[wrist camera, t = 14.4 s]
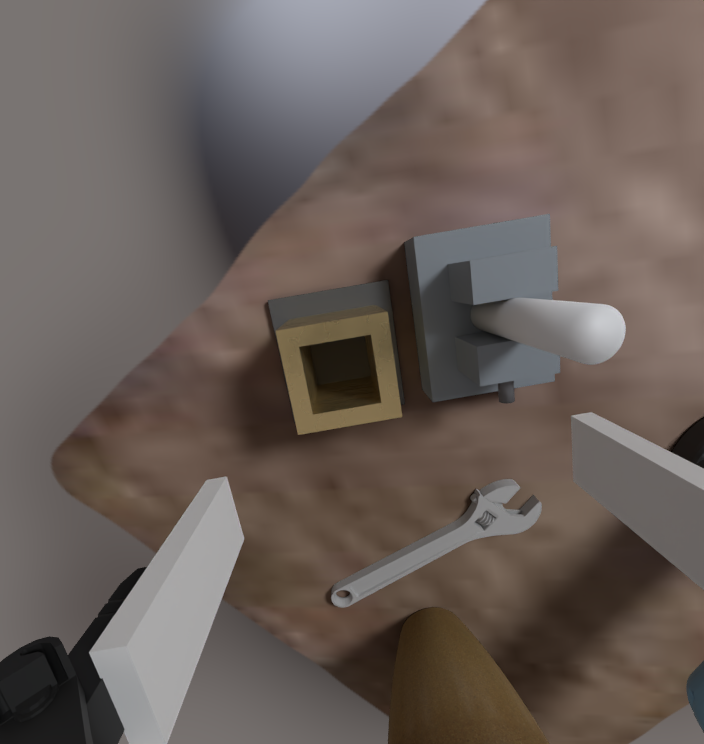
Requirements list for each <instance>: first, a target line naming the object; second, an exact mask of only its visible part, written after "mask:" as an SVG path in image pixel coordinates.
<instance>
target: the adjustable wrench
mask: <svg viewBox="0 0 704 744" xmlns="http://www.w3.org/2000/svg"><path fill="white" fill-rule="evenodd" d="M519 489H520V487H519V485H518V484H517V483H516V482H515V481H514V480H512V479H504V480H499V481H496V482H493V483H491V484H489V485H487V486H485V487H483V488H482V489H480V490H478V489H475V491H474V494H472V495H471V497H470V499H471V500H472V503H471V505H470V506H469V508H468V510H467V511H466V512H465V514H464V515H463V516H461V517H460V518H459V519H457V520H456V521H454V522H453V523H451V524H449V525H447V526H445V527H443V528H441V529H439V530H437V531H435V532H433V533H431V534H429V535H428V536H426V537H424V538H422V539H420V540H418V541H416V542H414V543H412V544H410V545H408V546H406V547H405V548H403V549H401V550H399V551H397V552H395V553H393V554H391V555H389V556H387V557H385V558H383V559H381V560H380V561H378V562H376V563H374V564H372V565H370V566H368V567H366V568H364V569H362V570H360V571H358V572H357V573H355V574H353V575H351V576H349V577H347V578H345V579H343V580H341V581H339V582H337V583H336V584H335V585H334V586H333V587H332V590H331V599H332V602H333V604H334V605H336V606H338V607H347V606H350V605H352V604H354V603H355V602H357V601H359V600H361V599H363V598H365V597H367V596H368V595H370V594H372V593H374V592H376V591H378V590H379V589H381V588H383V587H385V586H387V585H389V584H391V583H392V582H394V581H396V580H398V579H400V578H402V577H404V576H405V575H407V574H409V573H411V572H413V571H415V570H417V569H418V568H420V567H422V566H424V565H426V564H428V563H430V562H431V561H433V560H435V559H437V558H439V557H441V556H443V555H444V554H446V553H448V552H450V551H452V550H454V549H456V548H457V547H459V546H461V545H463V544H465V543H467V542H469V541H471V540H474V539H478V538H483V537H488V536H495V535H507V534H517V533H520V532H523V531H525V530H527V529H528V528H530V527H531V526H532V525H533V524H534V523H535V522H536V521H537V519H538V517H539V515H540V513H541V508H542V504H541V502H540V501H539V500H538V499H537V498H536V497H535V496H534V495H533V496H532V497H531V498H530V499H529V500H528V501H527V502H526V503H525V504H524V505H523V506H522V507H521V509H520V510H511V509H505V508H504V507H503V506H502V503H507V502H508V501H509V500H510V499H511V497H512V496H513V495H514V494H515V493H516V492H517V491H518V490H519ZM476 521H477V522H476ZM340 590H347V591H349V592H350V594H349V595H348V596H347V597H338V596H337V595H336V592H337V591H340Z"/></svg>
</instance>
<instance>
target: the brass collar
mask: <svg viewBox="0 0 704 744" xmlns="http://www.w3.org/2000/svg"><path fill="white" fill-rule="evenodd" d="M276 336H277V341H278V345H279V350H280V354H281V359H282V364H283V368H284V373H285V377H286V382H287V386H288V391H289V396H290V400H291V405H292V409H293V414H294V419H295V423H296V428H297V432H298V435H301V434H307V433H313V432H319V431H324V430H330V429H336V428H342V427H347V426H353V425H359V424H365V423H370V422H376V421H382V420H388V419H394V418H399V417H402V411H401V404H400V397H399V389H398V382H397V375H396V368H395V361H394V354H393V347H392V339H391V332H390V325H389V318H388V312H387V311H386V310H384V309H382V308H380V307H378V306H376V305H371V306H365V307H359V308H354V309H348V310H342V311H336V312H330V313H324V314H319V315H313V316H307V317H301V318H295V319H289V320H288V321H287V322H286V323H284V324H283V325H282V326H281V327H279V328H278V329H277V330H276ZM360 336H365V341H366V347H367V354H368V360H369V366H370V373H371V376H368V377H363V378H357V379H351V380H345V381H339V382H334V383H328V384H322V385H317V380H316V374H315V369H314V364H313V359H312V354H311V349H310V345H313V344H319V343H325V342H331V341H336V340H342V339H348V338H354V337H360Z"/></svg>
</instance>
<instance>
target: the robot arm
mask: <svg viewBox="0 0 704 744" xmlns="http://www.w3.org/2000/svg"><path fill="white" fill-rule="evenodd" d="M571 427H572V456H573V481H574V482H575V483H576V484H577V485H579V486H580V487H581V488H582V489H583V490H584V491H586V492H587V493H588V494H589V495H590V496H592V497H593V498H594V499H595V500H596V501H598V502H599V503H600V504H601V505H602V506H604V507H605V508H606V509H607V510H608V511H610V512H611V513H612V514H613V515H614V516H616V517H617V518H618V519H619V520H620V521H622V522H623V523H624V524H625V525H626V526H628V527H629V528H630V529H631V530H632V531H634V532H635V533H636V534H637V535H638V536H640V537H641V538H642V539H643V540H644V541H646V542H647V543H648V544H649V545H650V546H652V547H653V548H654V549H655V550H656V551H658V552H659V553H660V554H661V555H662V556H664V557H665V558H666V559H667V560H668V561H670V562H671V563H672V564H673V565H674V566H676V567H677V568H678V569H679V570H680V571H682V572H683V573H684V574H685V575H686V576H688V577H689V578H690V579H691V580H692V581H694V582H695V583H696V584H697V585H698V586H699V587H701V588H702V589H703V590H704V418H703V419H702V420H700V421H699V422H697V423H696V424H695V425H694V426H693V427H691V428H690V429H689V430H688V431H687V432H686V433H685V434H684V436H683V437H682V438H681V439H680V440H679V442H678V443H677V445H676V446H675V448H674V449H673V451H672V452H670V451H668V450H666V449H664V448H662V447H660V446H658V445H656V444H654V443H652V442H650V441H648V440H646V439H644V438H642V437H640V436H638V435H636V434H634V433H632V432H630V431H628V430H626V429H624V428H622V427H620V426H618V425H616V424H614V423H612V422H610V421H608V420H606V419H604V418H602V417H600V416H598V415H596V414H594V413H592V412H590V413H584V414H579V415H573V416H571ZM243 541H244V536H243V532H242V529H241V525H240V522H239V518H238V515H237V511H236V508H235V504H234V501H233V497H232V494H231V490H230V487H229V483H228V479H227V477H221V478H216V479H210V480H206V482H205V483H204V485H203V486H202V488H201V489H200V491H199V492H198V494H197V495H196V496H195V498H194V499H193V501H192V502H191V504H190V505H189V507H188V508H187V510H186V511H185V513H184V514H183V516H182V517H181V518H180V520H179V521H178V523H177V524H176V526H175V527H174V529H173V530H172V532H171V533H170V535H169V536H168V537H167V539H166V540H165V542H164V543H163V545H162V546H161V548H160V549H159V551H158V552H157V554H156V555H155V557H154V558H153V559H152V561H151V562H150V564H149V565H148V567H144V568H139V569H137V570H136V571H134V572H133V573H132V574H131V575H130V576H129V577H128V578H127V579H126V580H124V581H123V582H122V583H121V584H120V585H119V587H118V588H117V590H116V591H115V592H114V593H113V595H112V596H111V598H110V599H109V601H108V603H107V604H105V606H104V607H103V608H102V610H101V611H100V612H99V614H98V618H95V619H94V621H93V622H92V623H91V625H90V626H89V628H88V629H87V630H86V631H85V633H84V634H83V636H82V637H81V638H80V640H79V641H78V642H77V644H76V645H75V646H74V648H73V649H72V651H71V652H70V653H69V655H67V653H66V651H65V648H64V646H63V644H62V642H61V641H60V639H59V638H57V637H46V638H42V639H38V640H35V641H33V642H31V643H29V644H27V645H25V646H23V647H21V648H19V649H18V650H16V651H15V652H13V653H12V654H10V655H9V656H8V657H6V658H5V659H3V660H2V661H1V662H0V744H118V742H119V740H120V738H121V736H122V734H123V732H124V734H125V736H126V738H127V741H128V743H129V744H167V743H168V740H169V738H170V735H171V732H172V730H173V727H174V724H175V722H176V719H177V716H178V714H179V711H180V708H181V705H182V703H183V700H184V698H185V695H186V692H187V690H188V687H189V684H190V682H191V679H192V677H193V674H194V671H195V669H196V666H197V663H198V661H199V658H200V655H201V652H202V650H203V647H204V644H205V642H206V639H207V637H208V634H209V631H210V628H211V626H212V623H213V621H214V618H215V615H216V613H217V610H218V607H219V605H220V602H221V599H222V597H223V594H224V591H225V589H226V586H227V583H228V581H229V578H230V575H231V573H232V570H233V568H234V565H235V562H236V560H237V557H238V554H239V552H240V549H241V546H242V544H243ZM686 689H687V696H688V700H689V703H690V705H691V708H692V710H693V712H694V715H695V717H696V719H697V721H698V723H699V725H700V727H701V728H702V730H703V732H704V661H703V662H702V663H701V664H700V665H699V666H698V667H697V668H696V669H695V670H694V671H693V672H692V674H691V675H690V676H689V678H688V680H687V687H686Z"/></svg>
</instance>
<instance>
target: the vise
mask: <svg viewBox="0 0 704 744" xmlns="http://www.w3.org/2000/svg"><path fill="white" fill-rule="evenodd" d="M404 245H405V253H406V261H407V270H408V278H409V286H410V294H411V302H412V310H413V318H414V326H415V335H416V343H417V351H418V359H419V367H420V375H421V383H422V390H423V391H424V392H425V393H426V395H427V396H428V397H429V398H430V399H431V401H432V402H437V401H443V400H449V399H455V398H460V397H466V396H472V395H478V394H484V393H489V392H495V391H498V396H499V402H501V403H512V402H514V401H515V397H514V388H518V387H524V386H530V385H536V384H541V383H547V382H553V381H555V376H554V374H555V373H560V356H562V357H565V358H568V359H571V360H574V361H577V362H580V363H583V364H589V365H593V364H599V363H602V362H604V361H606V360H608V359H609V358H611V357H612V356H613V355H614V354H615V353H616V352H617V351H618V350H619V348H620V347H621V345H622V343H623V340H624V337H625V330H626V329H625V322H624V319H623V317H622V315H621V314H620V312H619V311H618V310H616V309H615V308H614V307H612V306H609V305H605V304H593V303H581V302H569V301H557V300H552V291H558V265H557V246H553V247H551V238H550V214H546V215H540V216H535V217H529V218H523V219H517V220H511V221H505V222H499V223H493V224H488V225H482V226H476V227H470V228H464V229H458V230H452V231H446V232H441V233H435V234H429V235H423V236H417V237H413V238H411V239H409V240H408V241H406V242H404Z"/></svg>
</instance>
